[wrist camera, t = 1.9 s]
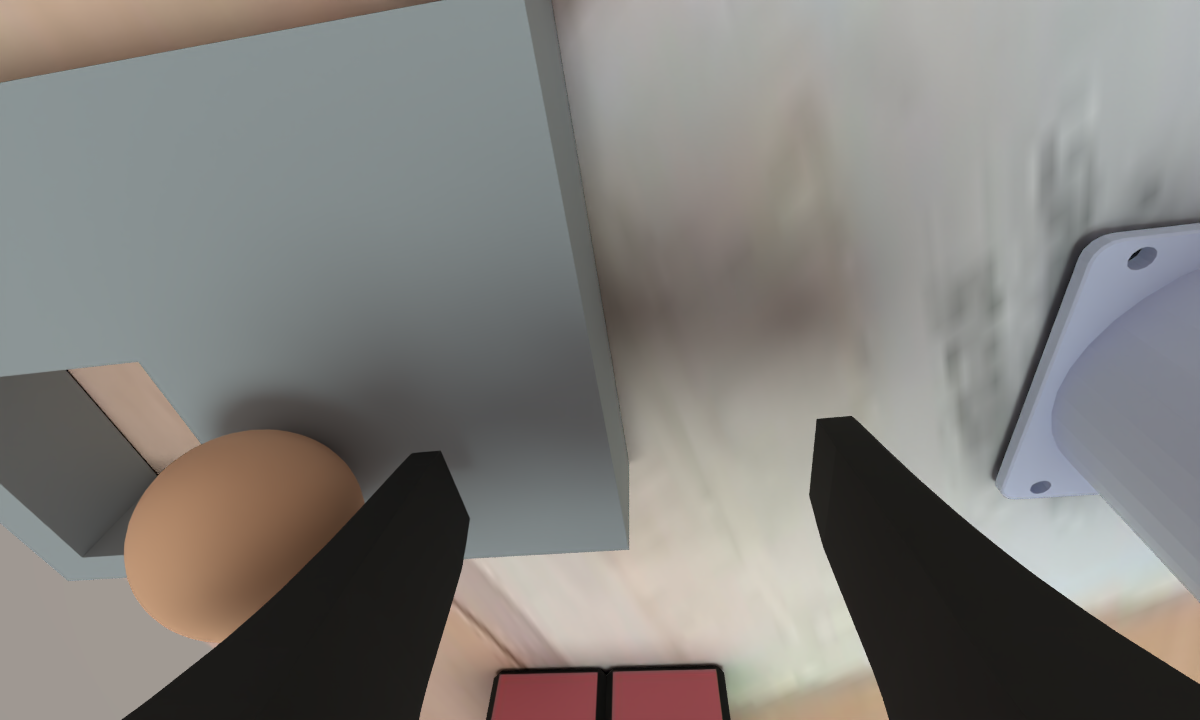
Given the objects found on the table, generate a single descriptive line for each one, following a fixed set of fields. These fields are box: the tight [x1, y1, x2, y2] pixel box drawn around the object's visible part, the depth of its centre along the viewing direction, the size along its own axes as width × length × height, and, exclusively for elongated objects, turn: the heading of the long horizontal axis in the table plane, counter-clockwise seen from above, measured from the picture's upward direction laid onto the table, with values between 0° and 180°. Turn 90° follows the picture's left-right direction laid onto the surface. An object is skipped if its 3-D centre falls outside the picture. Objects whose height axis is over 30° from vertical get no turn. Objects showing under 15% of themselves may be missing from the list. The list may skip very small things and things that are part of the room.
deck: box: [0, 0, 629, 581], centre depth 13 cm, size 16×12×3 cm
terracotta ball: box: [124, 429, 365, 643], centre depth 11 cm, size 4×4×4 cm
